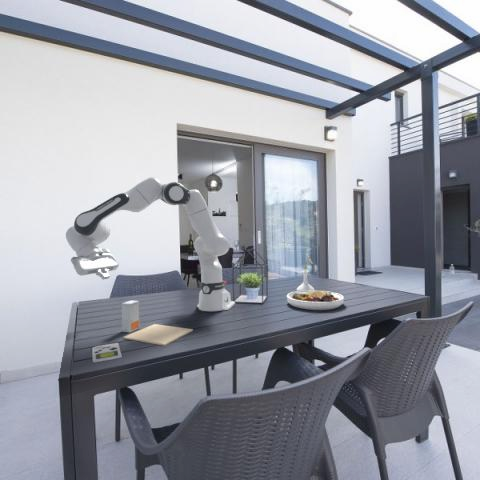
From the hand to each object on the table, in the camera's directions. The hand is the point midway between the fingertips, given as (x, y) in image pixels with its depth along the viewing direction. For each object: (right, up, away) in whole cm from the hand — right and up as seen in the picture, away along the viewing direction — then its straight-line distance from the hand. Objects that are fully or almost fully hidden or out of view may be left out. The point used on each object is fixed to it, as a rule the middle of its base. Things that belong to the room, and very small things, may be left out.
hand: (106, 278), depth 138 cm
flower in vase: (+101, -17, +66) cm, 122 cm away
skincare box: (+13, -22, -5) cm, 25 cm away
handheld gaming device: (+12, -23, -29) cm, 39 cm away
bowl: (+99, -19, +34) cm, 106 cm away
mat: (+26, -21, -11) cm, 36 cm away
